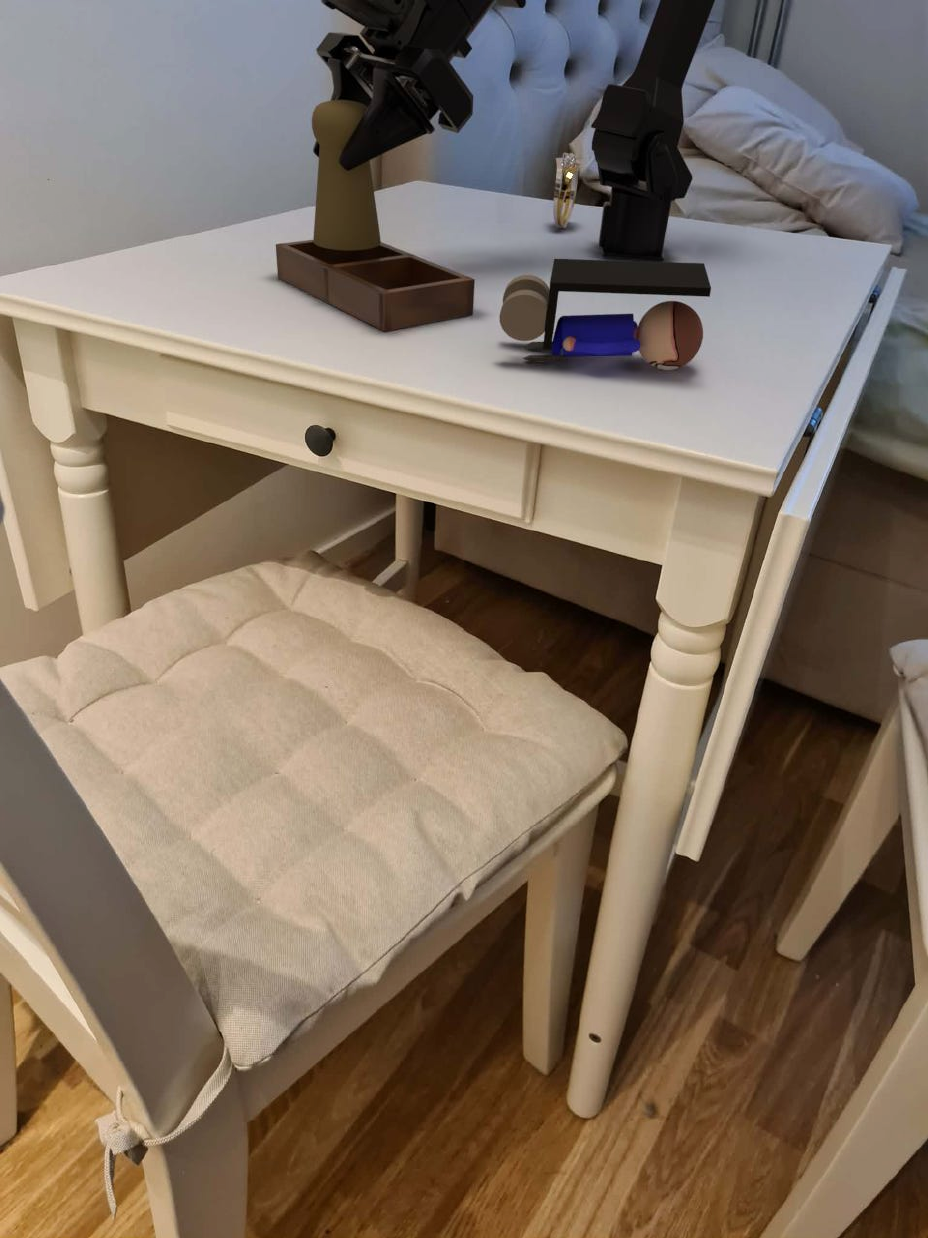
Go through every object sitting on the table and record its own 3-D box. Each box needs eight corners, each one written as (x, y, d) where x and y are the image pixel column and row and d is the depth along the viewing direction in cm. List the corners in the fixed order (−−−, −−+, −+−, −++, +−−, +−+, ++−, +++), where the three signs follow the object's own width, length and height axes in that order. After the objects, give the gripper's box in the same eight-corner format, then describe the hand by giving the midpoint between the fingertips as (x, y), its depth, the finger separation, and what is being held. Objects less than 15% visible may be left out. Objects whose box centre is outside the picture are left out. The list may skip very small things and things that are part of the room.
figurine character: (500, 387, 66) (704, 382, 65) (495, 282, 62) (715, 274, 60) (506, 357, 72) (695, 352, 70) (502, 259, 68) (704, 251, 66)
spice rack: (361, 266, 87) (361, 233, 85) (473, 314, 76) (475, 278, 74) (277, 277, 82) (275, 243, 80) (383, 331, 71) (383, 293, 69)
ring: (565, 235, 102) (574, 158, 98) (539, 231, 103) (547, 154, 99) (582, 224, 108) (591, 150, 103) (557, 220, 109) (565, 147, 104)
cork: (394, 241, 80) (393, 101, 74) (352, 254, 76) (348, 107, 70) (342, 230, 83) (337, 94, 76) (299, 242, 79) (289, 99, 72)
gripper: (332, -84, 74) (219, 71, 76) (444, -89, 61) (305, 98, 63) (414, 30, 82) (311, 168, 84) (528, 47, 69) (403, 209, 71)
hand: (329, 160), depth 75 cm, fingers closed on cork, 5 cm apart
